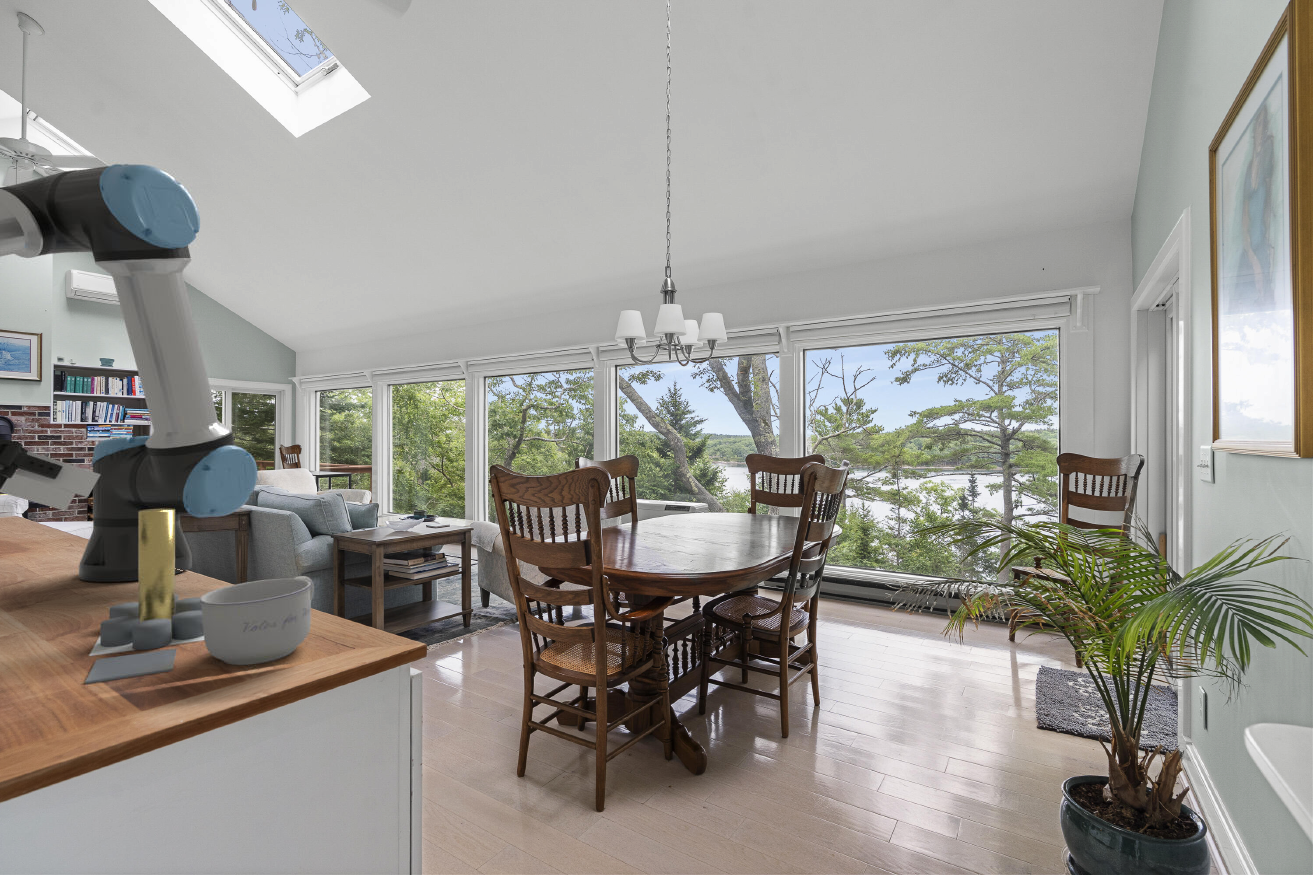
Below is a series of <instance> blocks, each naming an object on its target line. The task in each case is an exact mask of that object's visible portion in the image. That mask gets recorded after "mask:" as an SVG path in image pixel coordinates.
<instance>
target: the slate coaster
mask: <svg viewBox="0 0 1313 875" xmlns="http://www.w3.org/2000/svg"><path fill="white" fill-rule="evenodd" d="M177 649H178V648H169V649H164V650H156V651H149V652H142V653H134V654H127V655H121V656H112V657H105V658H98V659H96V660H95V662H94V664H93V666H92V668H91V669H90V672H89V673H88V676H87V677H86V679H85V680H84V685H89V684H96V683H102V682H108V681H116V680H123V679H129V678H135V677H141V676H142V677H143V676H149V675H153V674H160V673H166V672H167V673H168V672H172V671H173V668H174V665H175V660H176V654H177Z"/></svg>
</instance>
